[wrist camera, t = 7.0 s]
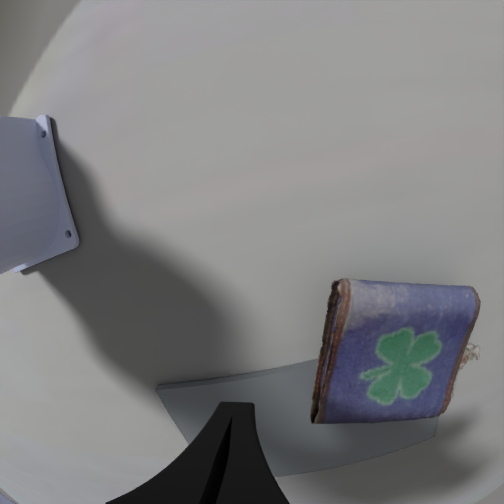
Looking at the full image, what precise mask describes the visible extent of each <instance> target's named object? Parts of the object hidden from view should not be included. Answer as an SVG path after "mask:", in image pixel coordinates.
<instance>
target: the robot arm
mask: <svg viewBox="0 0 504 504" xmlns="http://www.w3.org/2000/svg"><path fill="white" fill-rule="evenodd" d="M45 132H46V136H45ZM69 231H70V232H71V236H70V235H69ZM78 245H79V237H78V234H77V231H76V228H75V225H74V221H73V218H72V215H71V211H70V208H69V205H68V201H67V197H66V194H65V190H64V186H63V182H62V178H61V174H60V170H59V165H58V161H57V156H56V151H55V146H54V141H53V136H52V130H51V125H50V118H49V116H48V115H44V114H42V115H41V116H39V117H38V118H37V119H27V118H18V117H8V116H0V274H2V273H4V272H6V271H9V270H11V269H12V270H13V271H14V272H15V273H17V272H19V271H21V270H24V269H26V268H28V267H31V266H33V265H35V264H38V263H40V262H42V261H45V260H47V259H50V258H52V257H54V256H57V255H59V254H62V253H64V252H67V251H69V250H72V249H74V248H76V247H78ZM0 504H16V503H15V502H13V501H12V500H10V499H9V498H7V497H6V496H5V495H3V494H2V493H0ZM105 504H290V503H289V502H288V500H287V499H286V497H285V495H284V494H283V492H282V491H281V489H280V487H279V486H278V484H277V482H276V480H275V478H274V476H273V474H272V472H271V470H270V468H269V466H268V463H267V461H266V458H265V456H264V453H263V450H262V447H261V444H260V441H259V437H258V434H257V430H256V417H255V404H253V403H252V402H224V401H221V402H220V403H219V404H218V406H217V408H216V409H215V411H214V413H213V414H212V416H211V417H210V419H209V420H208V422H207V423H206V424H205V426H204V427H203V428H202V430H201V431H200V432H199V434H198V435H197V436H196V437H195V439H194V440H193V441H192V442H191V443H190V444H189V445H188V447H187V448H186V449H185V450H184V451H183V452H182V453H181V454H180V455H179V456H178V457H177V458H176V459H175V460H174V461H173V462H172V463H171V464H169V465H168V466H167V467H166V468H165V469H163V470H162V471H161V472H160V473H158V474H157V475H156V476H154V477H153V478H151V479H150V480H149V481H147V482H145V483H144V484H142V485H140V486H139V487H137V488H135V489H134V490H132V491H130V492H128V493H126V494H124V495H122V496H120V497H118V498H116V499H113V500H111V501H109V502H106V503H105Z"/></svg>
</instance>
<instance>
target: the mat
mask: <svg viewBox="0 0 504 504" xmlns="http://www.w3.org/2000/svg"><path fill="white" fill-rule="evenodd" d="M317 364H318V359H315V360H311V361H307V362H303V363H298V364H294V365H289V366H284V367H279V368H274V369H269V370H264V371H259V372H253V373H247V374H242V375H235V376H229V377H223V378H216V379H209V380H201V381H193V382H184V383H175V384H165V385H158V386H157V388H156V392H157V394H158V396H159V397H160V399H161V401H162V403H163V404H164V406H165V408H166V409H167V411H168V413H169V414H170V416H171V418H172V419H173V421H174V422H175V424H176V426H177V427H178V429H179V430H180V432H181V433H182V435H183V436H184V438H185V440H186V441H187V443H188V444H190V443H191V442H192V441H193V440H194V439H195V437H196V436H197V435H198V434H199V432H200V431H201V430H202V428H203V427H204V426H205V424H206V423H207V422H208V420H209V419H210V417H211V416H212V414H213V413H214V411H215V409H216V408H217V406H218V404H219V403H220V402H221V401H224V402H252V403H253V404H255V417H256V430H257V434H258V437H259V441H260V444H261V447H262V450H263V453H264V456H265V458H266V461H267V463H268V466H269V468H270V470H271V472H272V474H273V476H274V477H278V476H286V475H293V474H300V473H306V472H312V471H318V470H323V469H328V468H333V467H338V466H342V465H346V464H351V463H355V462H359V461H362V460H366V459H370V458H373V457H377V456H380V455H384V454H387V453H390V452H393V451H396V450H399V449H402V448H405V447H408V446H411V445H413V444H416V443H419V442H421V441H424V440H427V439H429V438H432V437H434V436H435V431H436V425H437V419H438V416H437V417H434V418H426V419H418V420H408V421H392V422H381V423H372V424H371V423H339V424H312V425H311V420H310V408H311V405H312V403H311V398H312V393H313V388H314V382H315V377H316V371H317Z"/></svg>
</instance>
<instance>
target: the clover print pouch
mask: <svg viewBox="0 0 504 504" xmlns="http://www.w3.org/2000/svg"><path fill="white" fill-rule="evenodd" d="M331 287H332V288H331V289H332V292H331V295H330V296H329V299H328V306H327V307H328V310H327V312H328V313H327V315H326V319H325V326H324V332H323V336H322V338H323V339H322V342H323V346H322V347H321V350H320V355H319V358H318V364H317V371H316V377H315V382H314V388H313V393H312V398H311V403H312V405H311V408H310V420H311V425H312V424H339V423H371V424H372V423H381V422H392V421H408V420H418V419H426V418H434V417H437V416H439V415H440V414H441V413H444V412H445V410H446V409H447V407H448V405H449V403H450V401H451V398H452V397H453V393H452V391H453V385H454V382H455V380H456V375H457V373H458V371H459V370H461V369H462V368H463V366H464V365H465V364H466V362H467V361H468V359H469V360H470V359H473V355H474V354H475V355H476V359H477V360H478V359H479V357H480V355H479V352H480V347H479V345H477V346H475V347H474V345H473V344H468V340H469V338H470V334H471V332H472V330H473V328H474V324H475V322H476V320H477V317H478V314H479V310H480V303H481V301H480V299H479V297H478V293H477V292H476V291H475V289H474V288H473V287H470V286H447V285H433V284H410V283H394V282H381V281H367V280H355V279H346V278H345V279H340V280H338V281H334V282H332V286H331Z"/></svg>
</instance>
